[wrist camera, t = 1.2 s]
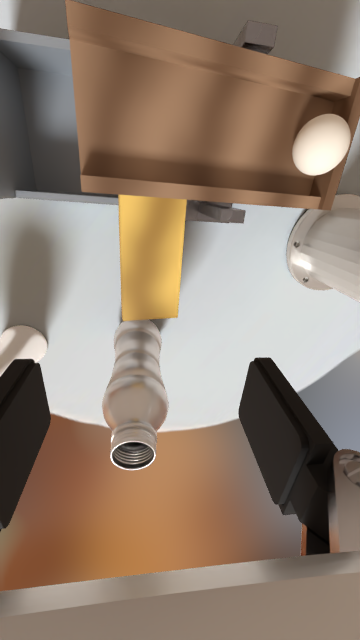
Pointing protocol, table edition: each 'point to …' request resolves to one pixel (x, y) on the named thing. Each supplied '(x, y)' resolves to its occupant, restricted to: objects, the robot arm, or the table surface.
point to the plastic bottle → (135, 395)
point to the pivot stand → (261, 41)
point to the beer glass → (21, 345)
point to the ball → (321, 144)
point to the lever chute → (189, 136)
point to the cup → (39, 121)
